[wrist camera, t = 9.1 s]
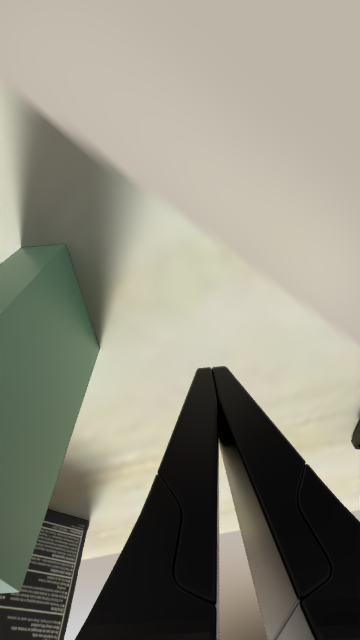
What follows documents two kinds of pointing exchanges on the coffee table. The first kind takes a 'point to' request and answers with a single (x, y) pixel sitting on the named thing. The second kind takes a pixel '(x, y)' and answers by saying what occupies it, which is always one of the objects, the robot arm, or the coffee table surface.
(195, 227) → the coffee table surface
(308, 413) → the coffee table surface
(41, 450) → the tile
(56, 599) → the small box
